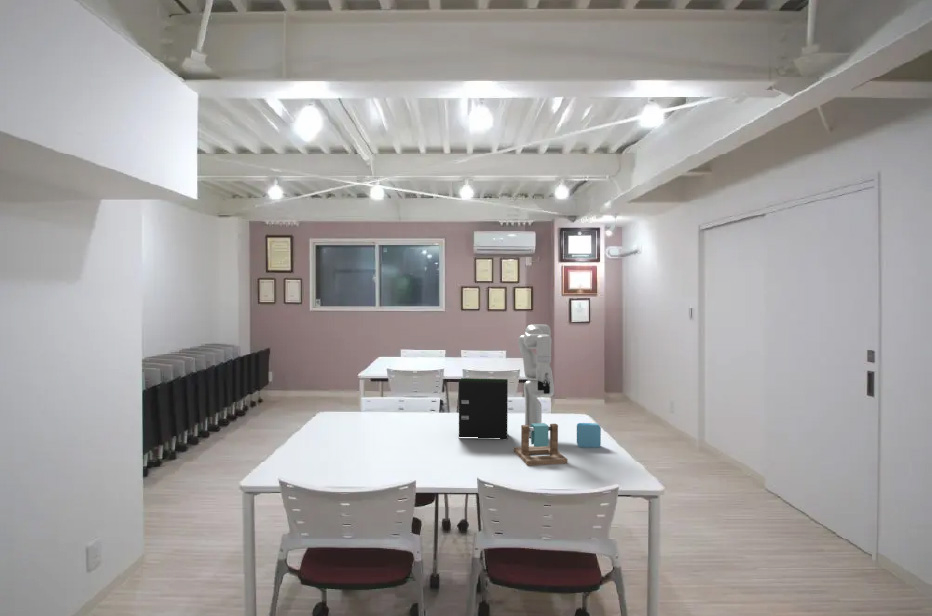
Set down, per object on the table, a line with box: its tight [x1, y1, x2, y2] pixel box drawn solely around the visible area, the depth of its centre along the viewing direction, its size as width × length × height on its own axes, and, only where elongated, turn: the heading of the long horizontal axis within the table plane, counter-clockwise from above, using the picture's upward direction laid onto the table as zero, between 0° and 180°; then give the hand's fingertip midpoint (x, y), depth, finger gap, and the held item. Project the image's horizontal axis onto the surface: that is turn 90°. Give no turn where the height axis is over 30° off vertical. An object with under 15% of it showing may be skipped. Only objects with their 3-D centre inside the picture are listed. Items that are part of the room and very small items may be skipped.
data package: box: [576, 422, 602, 448], centre depth 287 cm, size 12×4×12 cm, turn 87°
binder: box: [458, 377, 509, 440], centre depth 307 cm, size 27×15×32 cm, turn 85°
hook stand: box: [513, 423, 568, 466], centre depth 267 cm, size 24×20×16 cm
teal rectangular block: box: [530, 422, 549, 447], centre depth 267 cm, size 6×7×10 cm
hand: (543, 391), depth 279 cm, fingers open, 9 cm apart
